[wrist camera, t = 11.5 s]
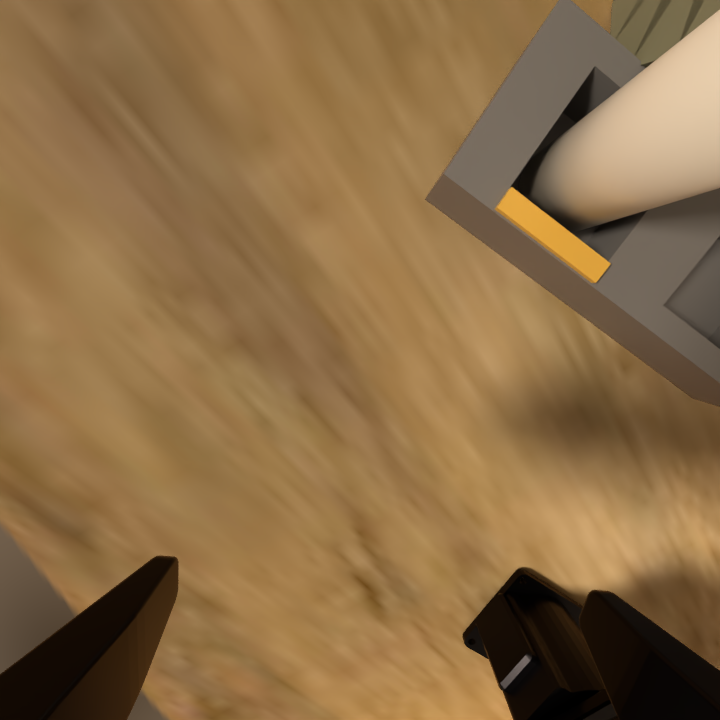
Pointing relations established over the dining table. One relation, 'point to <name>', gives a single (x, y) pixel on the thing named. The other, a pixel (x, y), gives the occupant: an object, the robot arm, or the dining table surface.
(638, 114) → the bottle
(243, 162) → the dining table surface
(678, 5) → the spool
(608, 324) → the compartment tray
